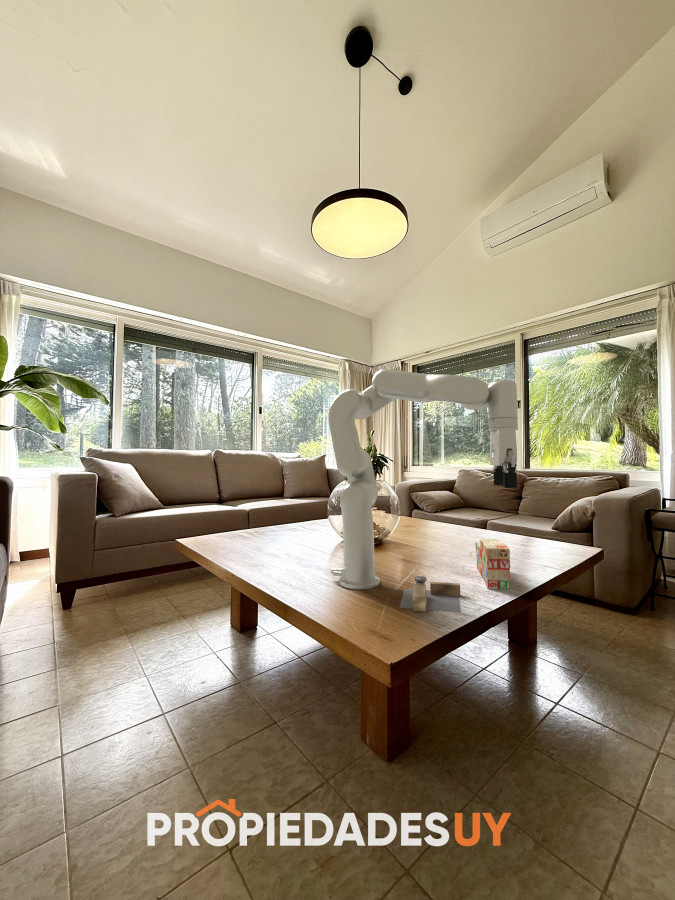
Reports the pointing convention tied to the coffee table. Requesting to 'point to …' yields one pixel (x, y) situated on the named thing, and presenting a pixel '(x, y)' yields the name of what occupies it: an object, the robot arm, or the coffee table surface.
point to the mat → (432, 601)
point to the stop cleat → (445, 588)
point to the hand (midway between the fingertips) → (504, 486)
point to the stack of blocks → (494, 563)
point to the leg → (419, 598)
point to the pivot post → (420, 580)
